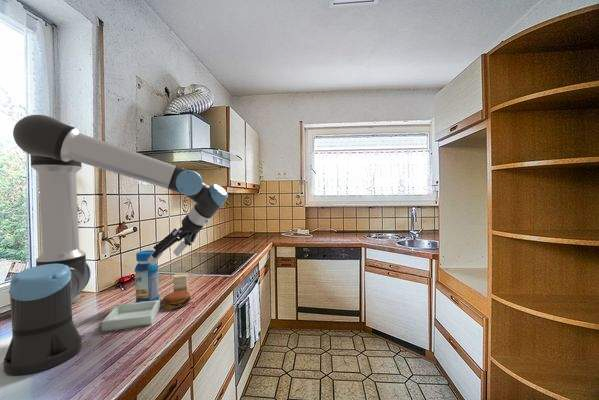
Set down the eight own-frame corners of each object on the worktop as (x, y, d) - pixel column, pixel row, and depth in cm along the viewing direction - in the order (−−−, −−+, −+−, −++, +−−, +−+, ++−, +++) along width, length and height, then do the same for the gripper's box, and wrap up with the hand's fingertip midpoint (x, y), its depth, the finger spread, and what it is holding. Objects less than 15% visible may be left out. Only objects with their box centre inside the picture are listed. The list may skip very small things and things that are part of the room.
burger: (157, 308, 103) (156, 296, 103) (173, 299, 112) (173, 288, 112) (180, 311, 101) (180, 298, 101) (195, 301, 110) (195, 289, 110)
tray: (151, 324, 90) (151, 315, 90) (101, 331, 86) (101, 322, 86) (160, 307, 104) (160, 299, 104) (117, 313, 100) (117, 304, 100)
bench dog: (187, 297, 114) (186, 275, 113) (173, 298, 112) (173, 276, 112) (188, 293, 118) (187, 272, 118) (175, 294, 117) (175, 273, 117)
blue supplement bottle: (161, 302, 109) (159, 252, 108) (136, 308, 104) (134, 255, 103) (158, 296, 115) (156, 248, 115) (134, 301, 111) (132, 251, 110)
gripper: (180, 231, 91) (144, 274, 95) (220, 222, 115) (190, 257, 119) (166, 215, 92) (131, 258, 96) (208, 210, 116) (179, 244, 121)
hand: (163, 257), depth 108 cm, fingers open, 13 cm apart
